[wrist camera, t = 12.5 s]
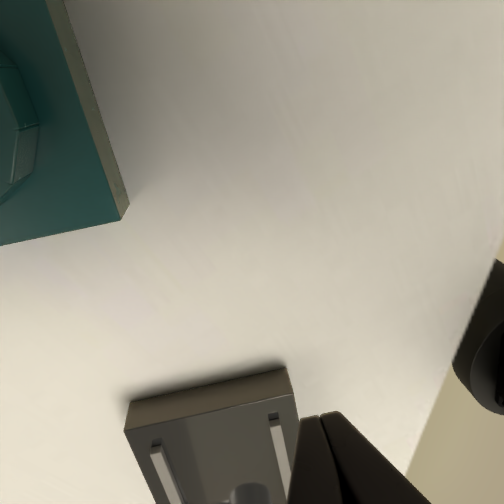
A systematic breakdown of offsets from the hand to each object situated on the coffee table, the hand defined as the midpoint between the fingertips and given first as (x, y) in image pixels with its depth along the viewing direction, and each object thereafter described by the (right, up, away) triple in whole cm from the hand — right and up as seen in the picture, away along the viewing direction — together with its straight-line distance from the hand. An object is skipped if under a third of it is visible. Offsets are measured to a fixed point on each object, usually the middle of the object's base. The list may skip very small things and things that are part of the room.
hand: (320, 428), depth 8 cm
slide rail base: (-2, -12, +18) cm, 21 cm away
